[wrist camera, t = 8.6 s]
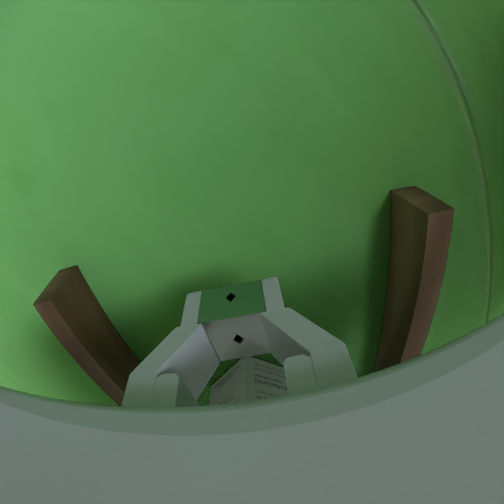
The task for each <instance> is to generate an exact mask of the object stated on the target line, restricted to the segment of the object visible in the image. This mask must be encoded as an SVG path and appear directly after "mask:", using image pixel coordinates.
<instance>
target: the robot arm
mask: <svg viewBox="0 0 504 504" xmlns="http://www.w3.org/2000/svg"><path fill="white" fill-rule="evenodd" d="M269 353H271V354H272V355H273V356H274V357H275V358H276V359H277V360H278V361H279V362H280V363H281V364H282V365H283V366H284V370H285V377H286V383H287V390H288V395H284V396H279V397H273V398H267V399H261V400H254V401H247V402H238V403H230V404H219V405H207V406H201V405H200V404H199V403H198V401H197V399H198V397H199V396H200V394H201V393H202V391H203V390H204V388H205V386H206V385H207V383H208V382H209V380H210V378H211V377H212V375H213V374H214V372H215V370H216V369H217V367H218V366H219V364H220V361H225V360H231V359H237V358H243V357H249V356H256V355H263V354H269ZM0 504H504V313H502V314H501V315H499V316H497V317H496V318H494V319H492V320H491V321H489V322H487V323H485V324H484V325H482V326H480V327H478V328H477V329H475V330H473V331H471V332H469V333H467V334H465V335H463V336H461V337H459V338H457V339H455V340H453V341H451V342H449V343H447V344H445V345H443V346H441V347H438V348H436V349H434V350H432V351H429V352H427V353H425V354H422V355H420V356H417V357H415V358H412V359H410V360H407V361H405V362H402V363H400V364H397V365H394V366H391V367H389V368H386V369H383V370H380V371H377V372H374V373H371V374H368V375H365V376H361V377H358V376H357V374H356V371H355V368H354V366H353V363H352V360H351V358H350V355H349V353H348V350H347V347H346V345H345V343H344V342H342V341H341V340H339V339H338V338H336V337H335V336H333V335H331V334H330V333H328V332H327V331H325V330H324V329H322V328H321V327H319V326H317V325H316V324H314V323H313V322H311V321H310V320H308V319H307V318H305V317H304V316H302V315H301V314H299V313H297V312H296V311H294V310H293V309H291V308H290V307H288V308H285V307H284V302H283V298H282V294H281V290H280V285H279V281H278V277H277V276H272V277H268V278H264V279H262V280H257V281H252V282H247V283H242V284H238V285H233V286H232V285H231V286H225V287H219V288H213V289H207V290H203V291H196V292H191V293H188V294H187V296H186V300H185V305H184V310H183V315H182V320H181V325H180V327H176V328H175V329H174V330H173V331H172V332H171V333H170V334H169V335H168V336H167V337H166V338H165V339H164V340H163V341H162V342H161V343H160V344H159V345H158V346H157V347H156V348H155V349H154V350H153V351H152V352H151V353H150V354H149V355H148V356H147V357H146V358H145V359H144V360H143V361H142V362H141V363H140V364H139V365H138V366H137V367H136V368H135V369H134V370H133V371H132V372H131V374H130V375H129V379H128V383H127V386H126V390H125V394H124V398H123V402H122V406H110V405H98V404H89V403H80V402H73V401H66V400H60V399H54V398H49V397H43V396H39V395H34V394H29V393H25V392H21V391H17V390H13V389H9V388H6V387H2V386H0Z"/></svg>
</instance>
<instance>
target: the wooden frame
mask: <svg viewBox="0 0 504 504" xmlns="http://www.w3.org/2000/svg"><path fill="white" fill-rule="evenodd" d="M453 212H454V208H452V207H451V206H449V205H447V204H446V203H444V202H442V201H441V200H439V199H437V198H436V197H434V196H432V195H430V194H429V193H427V192H425V191H423V190H421V189H420V188H418V187H416V186H412V187H407V188H401V189H395V190H391V245H390V262H389V275H388V286H387V295H386V303H385V311H384V318H383V325H382V331H381V337H380V343H379V348H378V353H377V358H376V363H375V368H374V372H377V371H380V370H383V369H386V368H389V367H391V366H394V365H397V364H400V363H402V362H405V361H407V360H410V359H412V358H415V357H417V356H420V354H421V351H422V349H423V346H424V343H425V340H426V337H427V334H428V331H429V328H430V325H431V322H432V318H433V315H434V312H435V308H436V305H437V301H438V297H439V293H440V289H441V285H442V280H443V276H444V271H445V266H446V261H447V256H448V250H449V244H450V237H451V230H452V221H453ZM33 305H34V307H35V308H36V310H37V311H38V312H39V314H40V315H41V317H42V318H43V320H44V321H45V323H46V324H47V325H48V327H49V328H50V329H51V331H52V332H53V333H54V335H55V336H56V337H57V339H58V340H59V341H60V342H61V344H62V345H63V346H64V347H65V349H66V350H67V351H68V352H69V354H70V355H71V356H72V357H73V358H74V359H75V361H76V362H77V363H78V364H79V365H80V366H81V367H82V369H83V370H84V371H85V372H86V373H87V374H88V375H89V376H90V377H91V378H92V379H93V380H94V381H95V383H96V384H97V385H98V386H99V387H100V388H101V389H102V390H103V391H104V392H105V393H106V394H107V395H108V396H109V397H111V398H112V399H113V400H114V401H115V402H116V403H117V404H118V405H119V406H122V402H123V398H124V394H125V390H126V386H127V383H128V379H129V375H130V374H131V372H132V371H133V370H134V369H135V368H136V367H137V366H138V365H139V364H140V362H139V361H138V359H137V358H136V357H135V355H134V354H133V353H132V351H131V350H130V349H129V347H128V346H127V345H126V343H125V342H124V340H123V339H122V338H121V336H120V335H119V333H118V332H117V330H116V329H115V328H114V326H113V325H112V323H111V322H110V320H109V319H108V317H107V315H106V314H105V312H104V311H103V309H102V308H101V306H100V304H99V303H98V301H97V300H96V298H95V296H94V295H93V293H92V291H91V289H90V288H89V286H88V284H87V283H86V281H85V279H84V277H83V275H82V274H81V272H80V270H79V268H78V266H77V265H76V266H73V267H70V268H66V269H63V270H60V271H59V272H58V273H57V274H56V275H55V276H54V278H53V279H52V280H51V281H50V283H49V284H48V285H47V287H46V288H45V289H44V290H43V292H42V293H41V294H40V296H39V297H38V298H37V300H36V301H35V302H34V304H33ZM374 372H373V373H374Z"/></svg>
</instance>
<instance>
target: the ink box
mask: <svg viewBox="0 0 504 504" xmlns="http://www.w3.org/2000/svg"><path fill="white" fill-rule="evenodd" d="M284 395H288V390H287V383H286V377H285V370H284V367H281V366H278V365H275V364H272V363H269V362H266V361H263V360H260V359H257V358H254V357H252V356H249V357H243V358H241V359H240V360H239V361H238V362H237V363H236V364H235V365H234V366H233V367H231V368H230V369H229V370H228V371H227V372H226V373H225V374H224V375H223V376H222V377H221V378H219V379H218V380H217V381H216V382H215V383H214V384H213V385H212V386H211V387H210V405H219V404H230V403H238V402H247V401H254V400H261V399H267V398H273V397H279V396H284Z"/></svg>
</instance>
